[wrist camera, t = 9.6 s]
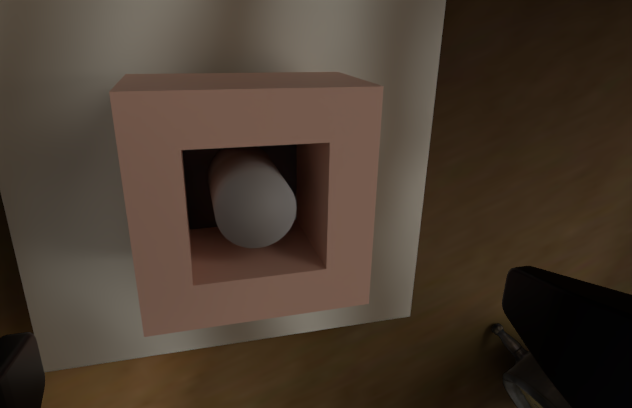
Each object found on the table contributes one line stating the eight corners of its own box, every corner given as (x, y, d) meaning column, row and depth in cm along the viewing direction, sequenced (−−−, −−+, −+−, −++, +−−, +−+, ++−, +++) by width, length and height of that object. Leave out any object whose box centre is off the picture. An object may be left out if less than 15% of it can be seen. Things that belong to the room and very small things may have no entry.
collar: (338, 71, 16) (383, 86, 13) (332, 250, 19) (369, 303, 15) (125, 73, 15) (109, 91, 11) (150, 270, 17) (143, 337, 14)
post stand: (425, -50, 19) (539, -82, 13) (392, 294, 24) (460, 380, 19) (-38, -84, 14) (-182, -153, 9) (54, 341, 20) (6, 470, 14)
